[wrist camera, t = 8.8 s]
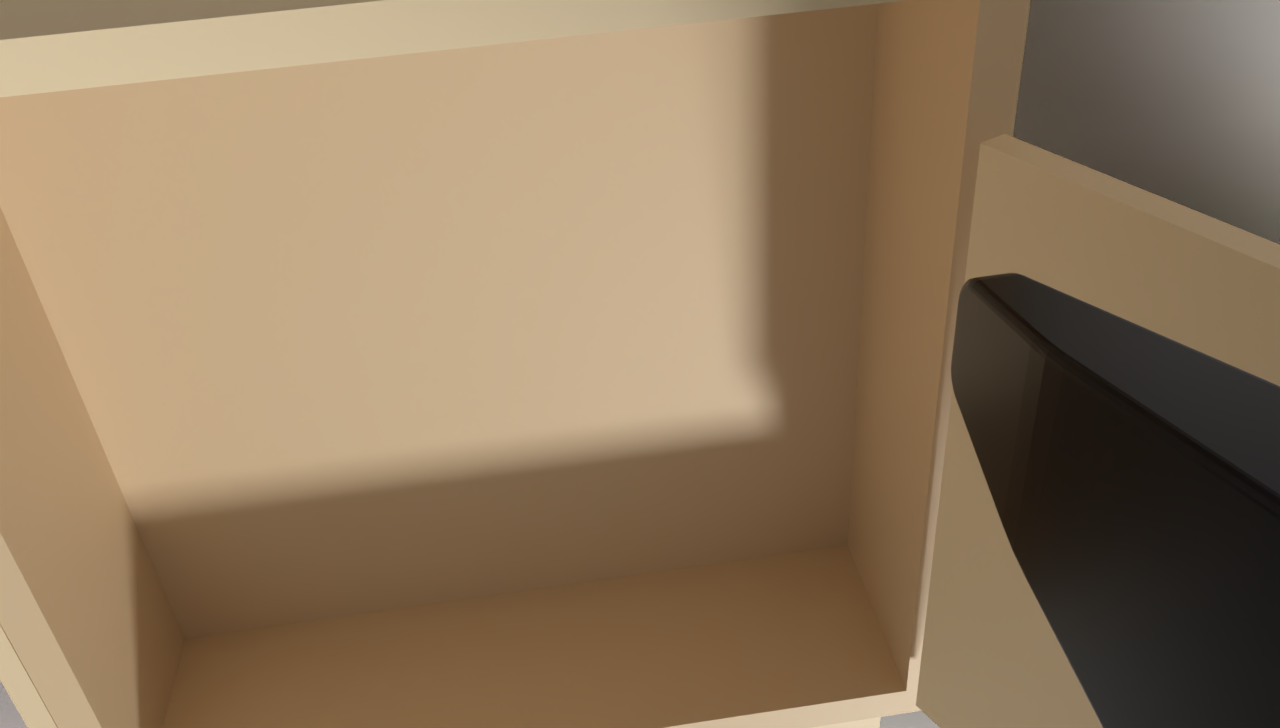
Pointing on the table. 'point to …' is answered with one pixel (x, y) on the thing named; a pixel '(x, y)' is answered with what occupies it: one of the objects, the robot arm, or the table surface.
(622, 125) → the carton
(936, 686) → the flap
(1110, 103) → the table surface
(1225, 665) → the robot arm
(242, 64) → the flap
